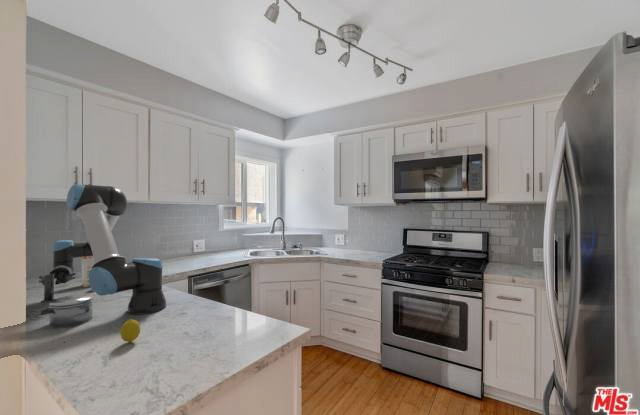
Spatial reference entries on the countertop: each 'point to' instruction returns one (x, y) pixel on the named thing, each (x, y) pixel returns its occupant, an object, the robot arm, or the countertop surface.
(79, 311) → the pot
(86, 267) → the coffeecake box
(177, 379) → the countertop surface
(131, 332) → the lemon
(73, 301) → the lid
